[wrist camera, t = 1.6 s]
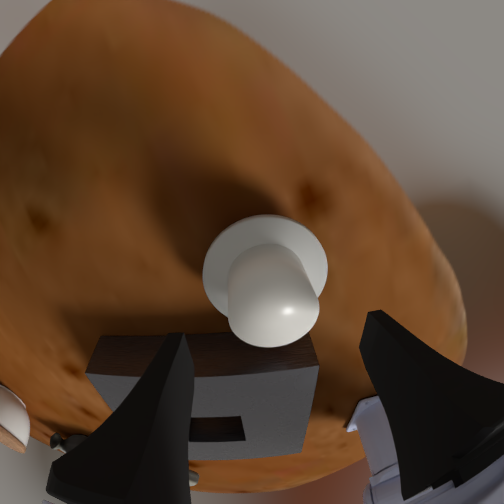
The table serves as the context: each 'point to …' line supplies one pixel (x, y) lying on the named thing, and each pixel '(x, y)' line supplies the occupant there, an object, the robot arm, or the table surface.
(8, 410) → the lidded jar
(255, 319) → the flanged cylindrical plug
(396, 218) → the table surface
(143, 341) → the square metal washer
